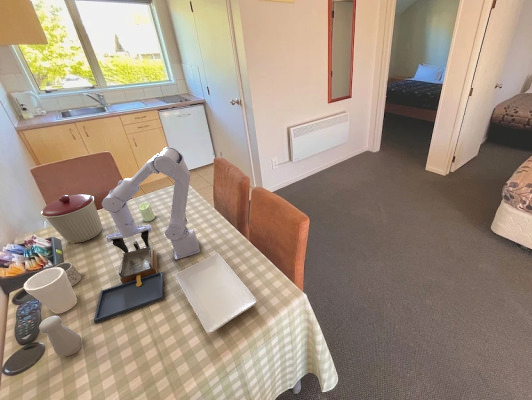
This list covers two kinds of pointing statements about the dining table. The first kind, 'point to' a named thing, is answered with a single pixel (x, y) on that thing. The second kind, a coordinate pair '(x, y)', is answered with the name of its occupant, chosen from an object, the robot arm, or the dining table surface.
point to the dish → (136, 261)
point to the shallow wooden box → (143, 274)
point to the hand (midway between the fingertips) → (137, 249)
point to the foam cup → (52, 289)
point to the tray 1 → (129, 297)
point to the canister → (74, 217)
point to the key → (138, 281)
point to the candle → (146, 211)
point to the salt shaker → (61, 336)
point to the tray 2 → (215, 292)
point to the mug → (70, 272)
